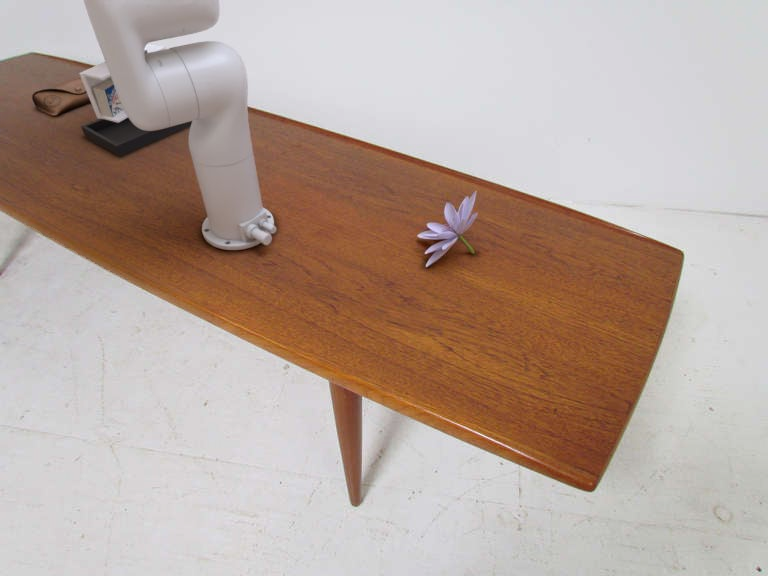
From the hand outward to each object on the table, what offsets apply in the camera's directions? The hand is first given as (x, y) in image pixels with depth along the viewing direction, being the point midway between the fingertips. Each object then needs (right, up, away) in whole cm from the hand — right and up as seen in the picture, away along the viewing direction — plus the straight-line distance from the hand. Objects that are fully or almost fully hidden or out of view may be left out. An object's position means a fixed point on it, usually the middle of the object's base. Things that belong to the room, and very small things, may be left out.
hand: (133, 79), depth 108 cm
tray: (0, -8, +8) cm, 11 cm away
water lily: (+65, -38, -20) cm, 78 cm away
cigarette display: (0, -4, +4) cm, 5 cm away
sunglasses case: (-22, +2, +17) cm, 28 cm away
